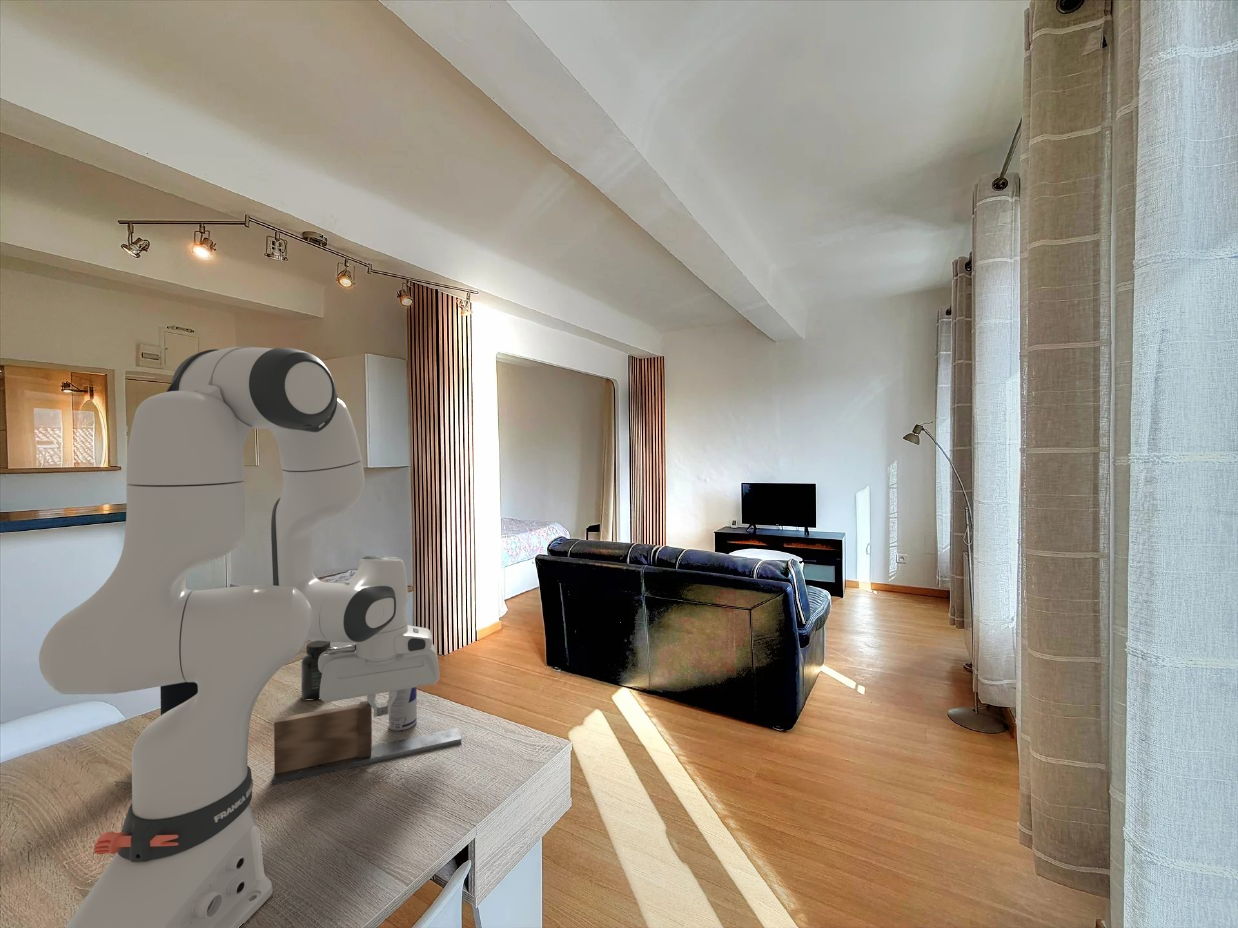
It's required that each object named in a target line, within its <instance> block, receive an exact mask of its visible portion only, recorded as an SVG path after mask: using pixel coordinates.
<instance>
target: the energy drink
mask: <svg viewBox="0 0 1238 928" xmlns="http://www.w3.org/2000/svg"><path fill="white" fill-rule="evenodd" d="M417 688H418V687H414V688H408V689H402V690H397V696H396V698H395V700H394V702H393V703H392V705H391V714H388V728H389V729H391V730H392V731H394V732H395V731H396V732H399V731H401V730H402V731H405V730H408V729H410V728H413V726H415V725H416V724H417V720H418V719H417V717H418V716H417V715H418V714H417V713H418V712H417V710H418V709H417V708H418V706H417V705H418V701H417V699H418V698H417V697H418V696H417V694H418V692H417V690H418V689H417ZM402 731H401V732H402Z"/></svg>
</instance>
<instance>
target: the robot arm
mask: <svg viewBox="0 0 1238 928" xmlns="http://www.w3.org/2000/svg"><path fill="white" fill-rule="evenodd" d="M171 379H172V380H171V383H170V385H169V386H168V387H167V389H166V391H165V392H161V393H158V394H155V395H152V396H149V397H148V398H146V399H144V400H143V401H141V403H140V404H139V405H138V406H137V408H136V410H135V413H134V417H133V422H132V425H131V430H130V434H129V435H130V436H129V440H128V446H127V447H128V448H127V456H126V467H125V468H126V471H125V473H126V475H125V476H126V478H125V479H126V480H125V483H126V485H125V486H126V487H125V488H126V517H125V518H126V519H125V531H124V532H125V533H124V542H123V546H122V551H121V554H120V557H119V560H118V561H117V564H116V566H115V568H114V569H113V571H112V573H111V574H110V576H109V577H108V578H107V580H106V581H105V582H104V583H103V584H102V585H101V587H100V588H99V589H98V590H97V591H96V592H95V593H93V594H92V595H91V596H90V597H89V598H87V599H86V600H85V601H83V602H82V603H80V604H79V605H78V606H76V607H74V608H73V609H71V610H70V611H68V612H67V613H66V614H64V615H63V616H62V617H61V618H59V619H58V621H56V622H55V624H54V625H53V626H52V627H51V628H49V629H50V630H49V631H48V633H47V634H46V635H45V637H44V639H43V642H42V644H41V646H40V650H39V655H38V663H39V669H40V673H41V675H42V677H43V678H44V680H45V682H46V683H47V684H48V685H49V686H50V687H51V688H52V689H53V690H55V691H56V692H58V693H60V694H61V695H114V694H115V695H117V694H123V693H128V692H135V691H140V690H148V689H153V688H160V686H165V685H171V684H177V683H183V682H195V683H197V685H198V693H197V694H196V695H194V696H193V697H192V698H190V699H189V700H187V701H185V702H184V703H182V704H180V705H178V706H176V707H175V708H173V709H171V710H169V711H168V712H166V713H164V714H163V715H161V714H160V716H158V717H157V718H156V719H154V720H153V721H152V722H150V723H149V724H148V725H147V726H146V727H145V728H144V729H143V731H142V732H141V733H140V734H139V736H138V737H137V738H136V741H135V743H134V745H133V748H132V750H131V804H130V805H129V807H128V809H127V812H126V815H125V818H124V822H123V823H122V828H121V831H120V832H114V831H106V832H104V833H102V834H101V835H100V836H99V837H98V838H97V839H96V843H95V844H94V847H93V851H94V852H93V854H96V855H104V854H111V855H114V856H113V858H112V859H111V861H110V862H109V864H108V865H107V867H105V868H104V870H103V872H102V873H101V875H100V876H99V878H98V879H97V881H96V882H95V883H94V885H93V886H92V888H91V889H90V891H89V892H88V894H87V895H86V897H85V898H84V900H83V901H82V902H81V904H80V905H79V907H78V908H77V910H76V911H75V913H73V915H72V917H71V918H70V920H69V921H68V922H67V924H66V925H65V927H64V928H238V927H240V925H241V924H243V923H244V924H245V923H247V921H248V920H249V919H250V918H251V917H252V916H253V915H254V914H255V913H256V912H257V911H258V910H259V909H260V907H262V905H263V904H264V903H265V902H266V901H267V900H268V899H269V898H271V896H272V894H273V891H274V890H273V882H272V881H271V880H270V878H269V877H268V876H266V874H265V868H264V860H263V851H262V850H263V849H262V842H261V836H260V830H259V829H260V828H259V827H258V825H257V822H256V820H255V818H254V815H253V813H252V809H251V807H250V803H251V802H252V799H253V787H254V779H253V778H252V769H251V767H250V766H249V765H248V755H249V754H248V751H249V750H248V749H249V737H250V735H249V734H250V727H251V726H250V725H251V720H252V716H253V715H252V714H253V711H254V708H255V705H256V703H257V701H258V698H259V696H260V695H261V693H262V691H263V689H264V688H265V687H266V685H267V684H268V682H269V681H270V680H271V679H272V678H273V677H274V675H276V674H277V672H278V671H279V670H280V669H282V668H283V666H285V665H286V664H287V663H289V662H290V661H291V660H293V659H294V658H295V657H296V656H297V655H298V654H299V653H300V652H301V651H302V650H303V648H304V647H305V645H306V644H307V642H309V641H327V642H330V643H336V642H337V643H338V642H339V643H350V644H348V645H343V646H338V647H337V646H334V647H331V648H329V649H328V650H327V651H324V652H323V653H322V654H321V655H320V656H319V658H318V669H319V671H320V672H321V673H322V678H321V684H320V696H319V697H320V700H321V701H322V702H323V703H331V702H336V701H341V700H342V701H343V700H348V699H355V698H361V697H366V699H367V700H366V701H368V703H369V704H370V705H371V706H372V709H373V717H374V718H376V717H382V716H386V715H388V716H389V714H391V705H392V703H393V702H394V700H395V698H396V696H397V690H402V689H408V688H414V687H417V688H420V687H424V686H431V685H436V684H437V683H438V681H439V680H440V667H439V659H438V654H437V649H436V647H435V645H434V644H433V634H432V631H431V630H430V629H429V628H428V627H427V628H426V627H421V626H416V625H415V626H414V625H409V624H408V623H409V622H408V621H409V620H408V616H407V613H406V610H407V609H406V608H407V604H408V598H409V597H408V596H409V595H408V594H409V591H408V588H409V587H408V578H407V577H408V576H407V569H406V565H405V562H404V560H403V559H402V558H400V557H399V556H398V557H397V556H387V555H367V556H363V557H361V558H360V560H359V563H358V566H357V570H356V571H355V573H354V574H353V575H352V576H351V577H350V578H348V579H347V580H346V581H344V582H343V583H342V582H329V581H327V582H326V581H322V580H320V579H319V578H317V576H315V574H314V557H313V550H314V549H313V548H314V546H313V536H314V531H315V530H316V528H317V527H318V526H319V525H320V524H322V523H324V522H327V521H329V520H332V519H333V518H334V519H335V518H336V517H339V516H340V515H343V514H344V513H346V512H347V511H349V510H350V509H351V508H353V507H354V505H356V504H357V503H358V501H359V499H360V498H361V497H362V495H363V492H364V489H365V470H364V464H363V457H362V451H361V447H360V443H359V438H358V434H357V430H356V428H355V426H354V425H355V424H354V422H353V418H352V416H351V414H350V412H349V409H348V406H347V405H346V403H345V402H344V401H343V400H342V399H340V398H338V393H337V387H336V384H335V383H336V382H335V381H334V378H333V376H332V373H331V372H330V370H329V369H328V367H327V365H325V363H324V362H323V361H322V360H321V359H320V358H319V357H317V356H316V355H314V354H312V353H310V352H308V351H307V352H306V351H304V350H300V349H297V348H296V349H295V348H290V347H276V348H271V347H258V346H251V345H250V346H249V345H246V346H234V347H233V346H232V347H227V348H222V349H219V348H218V349H215V348H214V349H207V350H203V351H200V352H199V351H198V352H197V353H194V354H192V355H190V356H188V358H186V359H185V360H183V361H182V362H181V363H180V364H179V366H178V367H177V368H176V370H175V371H174V374H173V376H172V378H171ZM253 429H255V430H260V429H261V430H263V429H265V430H268V431H269V433H271V434H272V436H273V437H274V439H275V441H276V442H277V445H278V453H279V459H280V468H281V473H282V491H281V495H280V497H279V498H278V499H277V500H276V501H275V503H274V505H273V508H272V511H271V512H272V513H271V519H270V520H271V521H270V522H271V523H270V525H271V526H270V527H271V529H270V535H271V536H270V537H271V540H270V541H271V559H272V560H271V562H272V566H271V567H272V585H270V584H268V585H267V584H249V585H238V586H230V587H229V586H228V587H219V588H210V589H208V588H207V589H201V590H200V589H199V590H197V589H196V590H195V589H188V588H187V577H188V575H189V574H190V573H192V572H193V571H195V570H198V569H200V568H201V567H202V568H203V567H204V566H206V565H208V564H212V563H213V562H215V561H217V560H219V559H221V558H223V557H224V556H226V555H228V554H229V553H231V552H233V551H234V550H235V549H236V548H238V546H239V544H241V542H242V540H243V539H244V536H245V534H246V497H245V496H246V495H245V494H246V493H245V492H246V488H245V487H246V485H245V483H246V482H245V463H244V447H245V445H246V444H245V443H246V441H247V438H248V437H249V435H250V433H251V432H252V431H253ZM354 643H355V644H354ZM325 653H328V654H325ZM384 693H388V698H387V701H385V702H380V703H379V702H378V701H377V700H376V695H378V694H384ZM244 924H243V925H244ZM240 928H241V927H240Z"/></svg>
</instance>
